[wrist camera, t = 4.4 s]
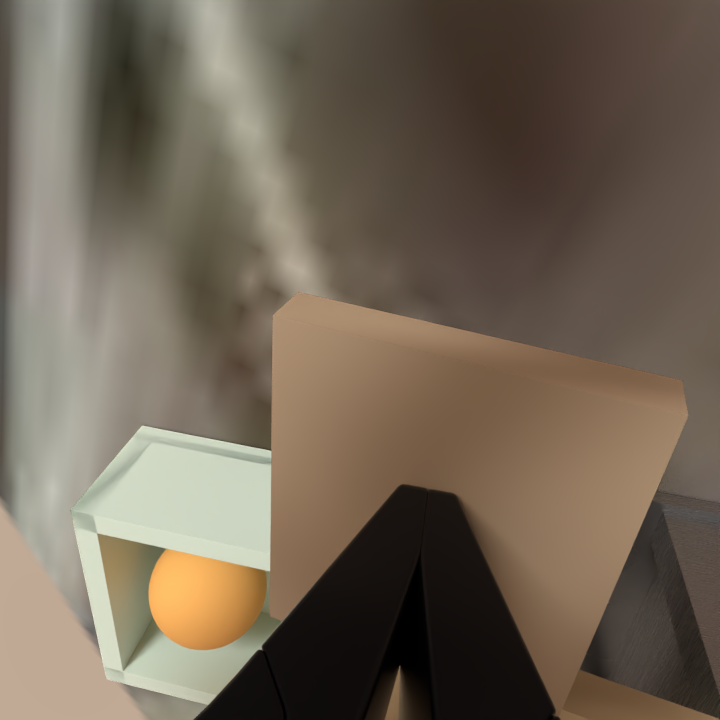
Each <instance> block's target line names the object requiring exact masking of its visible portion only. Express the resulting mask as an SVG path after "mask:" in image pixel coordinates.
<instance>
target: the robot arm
mask: <svg viewBox="0 0 720 720" xmlns="http://www.w3.org/2000/svg"><path fill="white" fill-rule="evenodd" d="M399 667H400V682H399V716H398V720H561V719H560V718H559V717H558V716H555V714H556V709H555V707H554V704H553V702H552V700H551V698H550V696H549V694H548V691H547V689H546V687H545V685H544V683H543V681H542V678H541V676H540V674H539V672H538V670H537V668H536V665H535V663H534V661H533V659H532V657H531V655H530V653H529V650H528V648H527V646H526V644H525V642H524V640H523V637H522V635H521V633H520V631H519V629H518V627H517V624H516V622H515V620H514V618H513V616H512V614H511V611H510V609H509V607H508V605H507V603H506V601H505V598H504V596H503V594H502V592H501V590H500V588H499V585H498V583H497V581H496V579H495V577H494V575H493V573H492V570H491V568H490V566H489V564H488V562H487V560H486V557H485V555H484V553H483V551H482V549H481V547H480V544H479V542H478V540H477V538H476V536H475V534H474V531H473V529H472V527H471V525H470V523H469V521H468V518H467V516H466V514H465V512H464V510H463V508H462V505H461V503H460V501H459V499H458V497H457V496H456V495H455V494H454V493H451V492H446V491H440V490H435V489H429V490H428V489H427V488H424V487H419V486H414V485H408V484H401V485H399V486H398V487H397V488H396V489H395V490H394V492H393V493H392V494H391V495H390V496H389V497H388V499H387V500H386V501H385V502H384V503H383V504H382V506H381V507H380V508H379V509H378V510H377V511H376V513H375V514H374V515H373V516H372V517H371V518H370V520H369V521H368V522H367V523H366V524H365V525H364V527H363V528H362V529H361V530H360V531H359V532H358V534H357V535H356V536H355V537H354V538H353V539H352V541H351V542H350V543H349V544H348V545H347V546H346V548H345V549H344V550H343V551H342V552H341V553H340V555H339V556H338V557H337V558H336V559H335V560H334V562H333V563H332V564H331V565H330V566H329V567H328V569H327V570H326V571H325V572H324V573H323V574H322V576H321V577H320V578H319V579H318V580H317V581H316V583H315V584H314V585H313V586H312V587H311V588H310V590H309V591H308V592H307V593H306V594H305V595H304V597H303V598H302V599H301V600H300V601H299V602H298V604H297V605H296V606H295V607H294V608H293V609H292V611H291V612H290V613H289V614H288V615H287V616H286V618H285V619H284V620H283V621H282V622H281V623H280V625H279V626H278V627H277V628H276V629H275V630H274V632H273V633H272V634H271V635H270V636H269V637H268V639H267V640H266V641H265V642H264V643H263V644H262V650H260V649H259V650H257V651H256V652H255V653H254V654H253V656H252V657H251V658H250V659H249V660H248V661H247V663H246V664H245V665H244V666H243V667H242V668H241V670H240V671H239V672H238V673H237V674H236V675H235V676H234V677H233V679H232V680H231V681H230V682H229V683H228V684H227V685H226V686H225V687H224V688H223V689H222V691H221V692H220V693H219V694H218V695H217V696H216V697H215V698H214V699H213V700H212V701H211V703H210V704H209V705H208V706H207V707H206V708H205V709H204V710H203V711H202V712H201V713H200V714H199V715H198V716H197V717H196V718H195V719H194V720H385V717H386V714H387V710H388V706H389V703H390V699H391V696H392V692H393V688H394V685H395V681H396V678H397V674H398V670H399Z"/></svg>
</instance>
